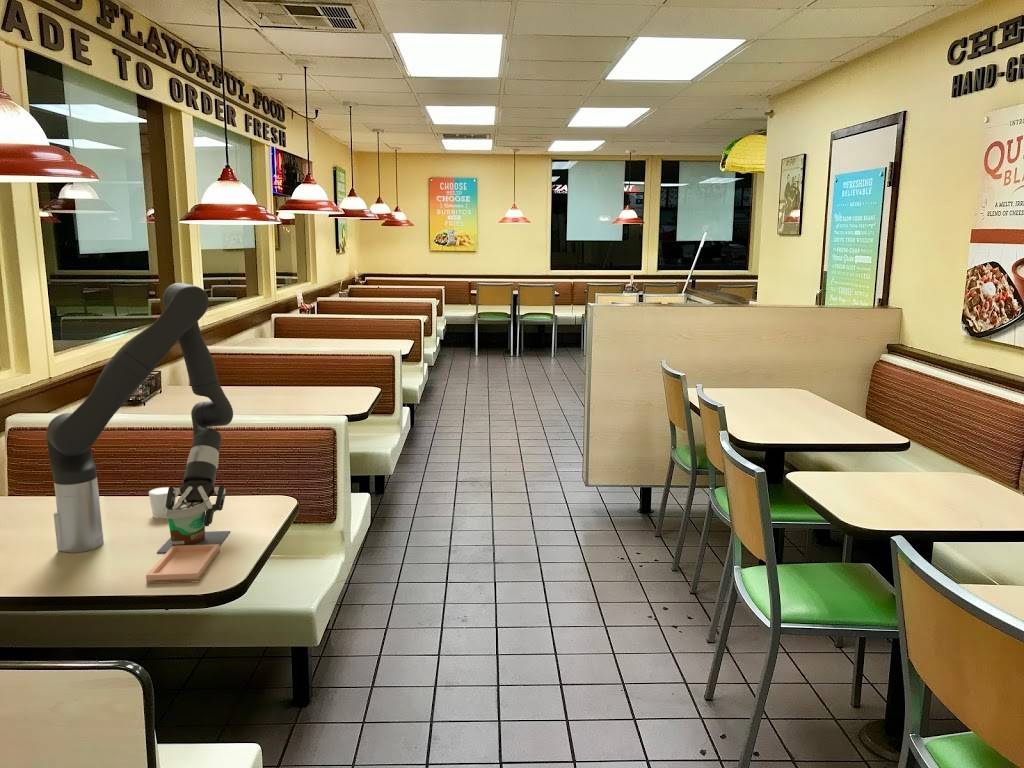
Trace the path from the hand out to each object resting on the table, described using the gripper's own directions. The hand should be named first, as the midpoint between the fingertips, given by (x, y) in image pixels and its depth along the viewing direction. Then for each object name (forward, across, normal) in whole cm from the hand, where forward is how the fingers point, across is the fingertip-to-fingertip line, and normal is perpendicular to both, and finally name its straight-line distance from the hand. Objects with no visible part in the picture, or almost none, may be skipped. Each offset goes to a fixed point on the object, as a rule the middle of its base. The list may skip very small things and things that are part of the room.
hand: (190, 525), depth 191 cm
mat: (+2, 0, +5) cm, 5 cm away
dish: (+13, +3, -6) cm, 15 cm away
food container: (+2, 0, +5) cm, 5 cm away
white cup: (-13, -15, +20) cm, 28 cm away
